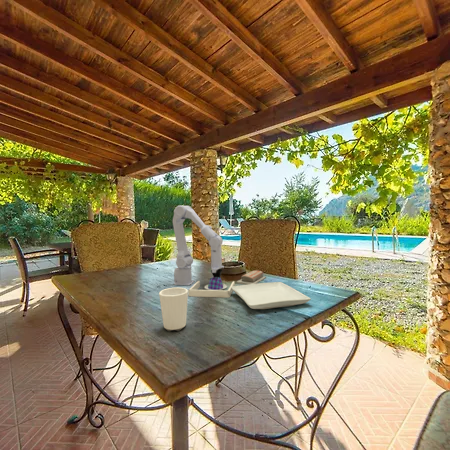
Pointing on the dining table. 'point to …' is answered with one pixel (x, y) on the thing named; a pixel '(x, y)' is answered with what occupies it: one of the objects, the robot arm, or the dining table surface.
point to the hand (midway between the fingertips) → (217, 282)
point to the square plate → (269, 295)
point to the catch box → (209, 291)
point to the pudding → (215, 284)
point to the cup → (174, 308)
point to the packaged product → (252, 277)
